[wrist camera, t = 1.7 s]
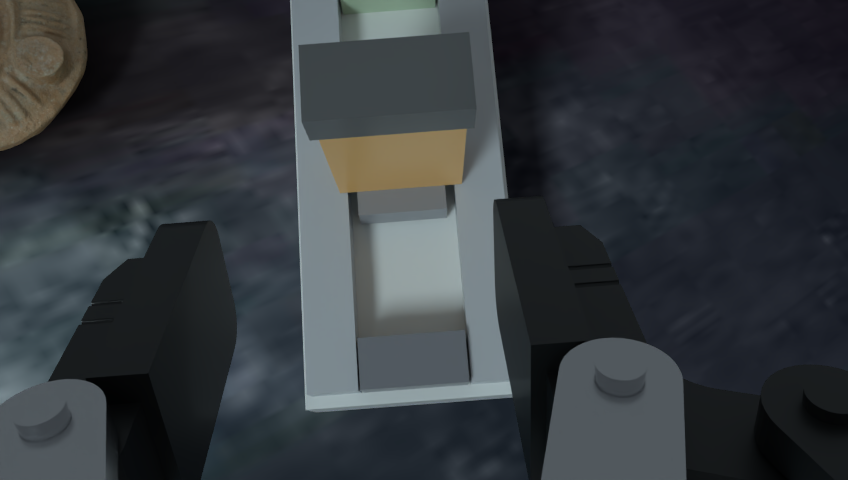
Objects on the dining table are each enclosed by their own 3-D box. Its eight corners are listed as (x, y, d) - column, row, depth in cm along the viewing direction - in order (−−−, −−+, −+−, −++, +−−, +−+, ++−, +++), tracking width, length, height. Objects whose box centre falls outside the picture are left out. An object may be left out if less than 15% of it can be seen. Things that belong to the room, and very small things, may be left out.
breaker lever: (467, 216, 34) (478, 129, 25) (340, 226, 34) (302, 143, 25) (459, 127, 35) (467, 12, 26) (336, 137, 35) (297, 25, 26)
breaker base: (520, 396, 35) (533, 390, 31) (316, 412, 35) (298, 408, 31) (479, -10, 40) (484, -69, 36) (299, 3, 40) (281, -54, 36)
